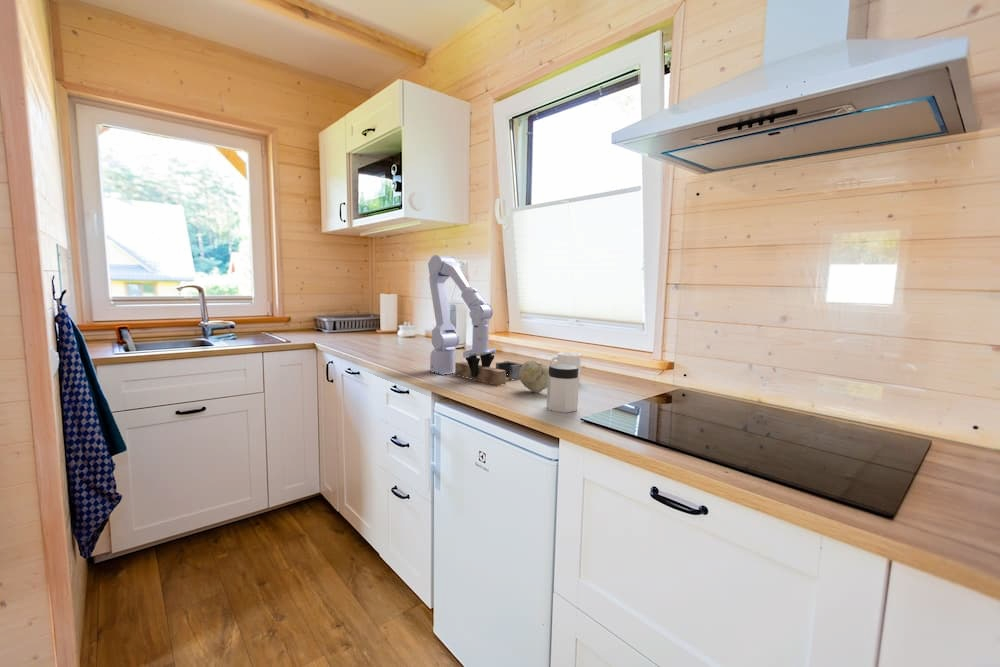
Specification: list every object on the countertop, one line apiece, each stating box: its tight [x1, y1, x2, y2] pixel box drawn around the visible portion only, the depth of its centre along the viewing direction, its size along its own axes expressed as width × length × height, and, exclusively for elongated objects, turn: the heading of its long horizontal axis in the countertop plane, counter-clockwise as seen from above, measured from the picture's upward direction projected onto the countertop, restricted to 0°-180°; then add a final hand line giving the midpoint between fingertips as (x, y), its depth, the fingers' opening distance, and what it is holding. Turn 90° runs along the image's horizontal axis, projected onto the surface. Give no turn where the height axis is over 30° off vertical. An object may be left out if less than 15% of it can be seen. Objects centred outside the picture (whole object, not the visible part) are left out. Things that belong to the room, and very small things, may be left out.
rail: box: [454, 361, 507, 386], centre depth 158 cm, size 22×4×5 cm, turn 48°
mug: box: [549, 351, 582, 382], centre depth 159 cm, size 12×8×10 cm
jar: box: [546, 363, 580, 414], centre depth 123 cm, size 9×8×12 cm
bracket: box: [495, 360, 524, 380], centre depth 164 cm, size 10×7×5 cm
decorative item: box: [518, 360, 550, 394], centre depth 142 cm, size 12×9×10 cm
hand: (479, 375), depth 158 cm, fingers open, 5 cm apart
